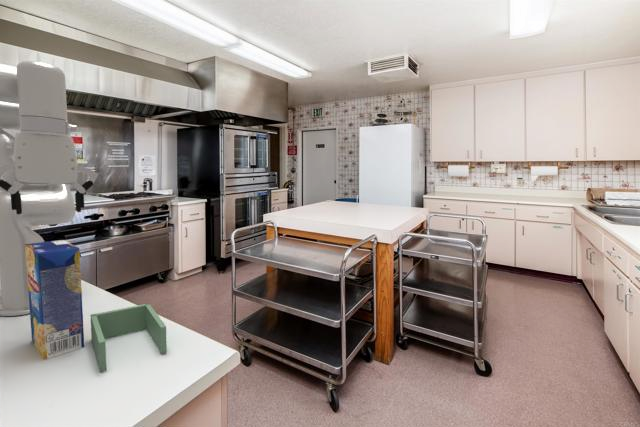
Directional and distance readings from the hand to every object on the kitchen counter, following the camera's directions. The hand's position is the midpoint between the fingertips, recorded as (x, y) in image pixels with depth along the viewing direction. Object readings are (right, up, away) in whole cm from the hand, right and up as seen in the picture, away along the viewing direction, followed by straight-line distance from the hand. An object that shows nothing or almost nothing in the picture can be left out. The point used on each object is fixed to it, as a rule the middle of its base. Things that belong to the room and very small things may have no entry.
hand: (50, 212), depth 70 cm
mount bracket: (+14, -30, +4) cm, 33 cm away
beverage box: (-1, -29, +4) cm, 29 cm away
